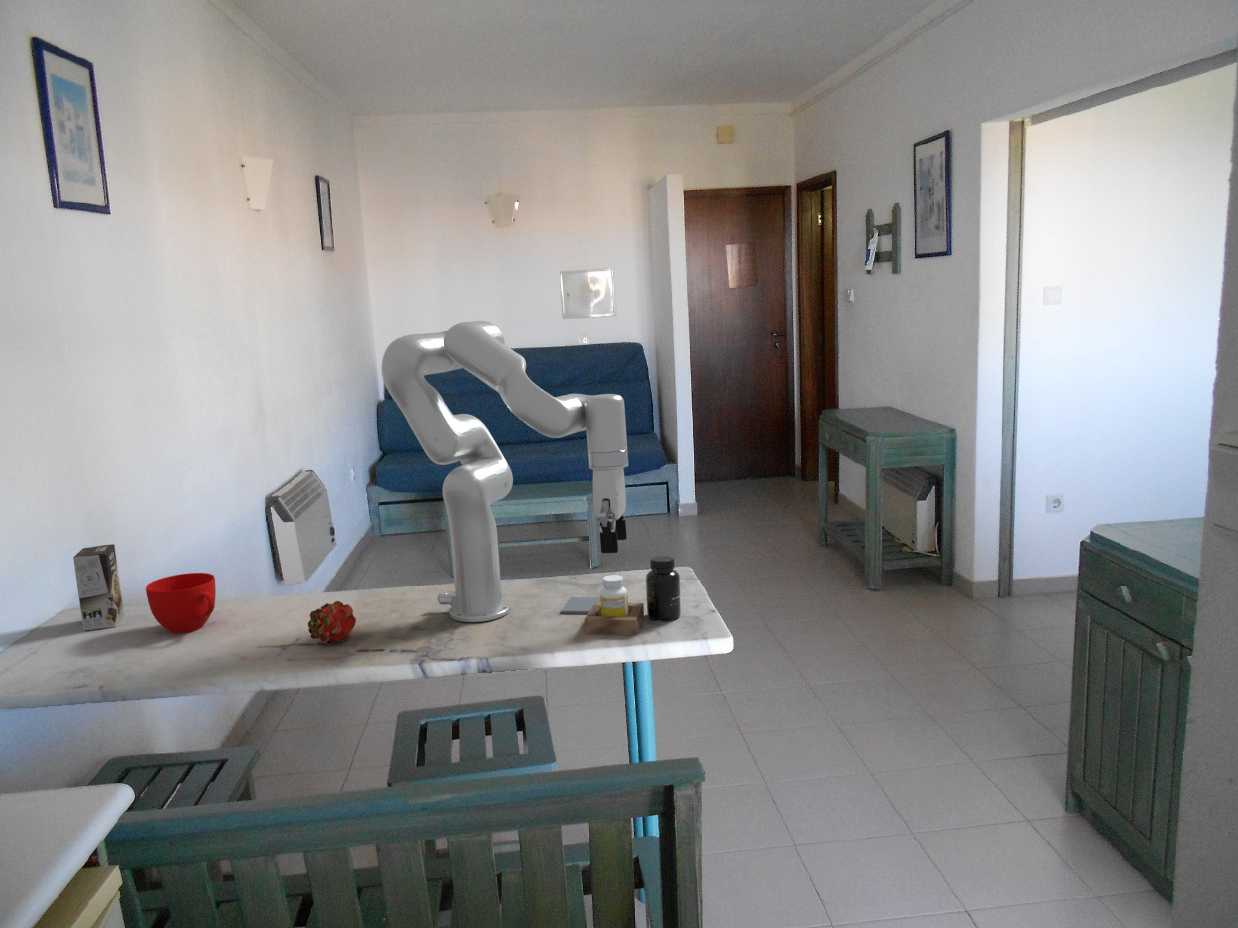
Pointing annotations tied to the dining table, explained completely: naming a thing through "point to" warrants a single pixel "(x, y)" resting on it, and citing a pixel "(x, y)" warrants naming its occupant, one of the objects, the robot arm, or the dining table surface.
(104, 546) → the coffee box
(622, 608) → the supplement bottle
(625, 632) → the walnut collar
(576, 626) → the dining table surface
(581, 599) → the slate mat
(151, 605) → the ceramic cup
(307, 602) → the dining table surface
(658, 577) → the supplement bottle
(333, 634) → the dragon fruit
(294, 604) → the dining table surface
